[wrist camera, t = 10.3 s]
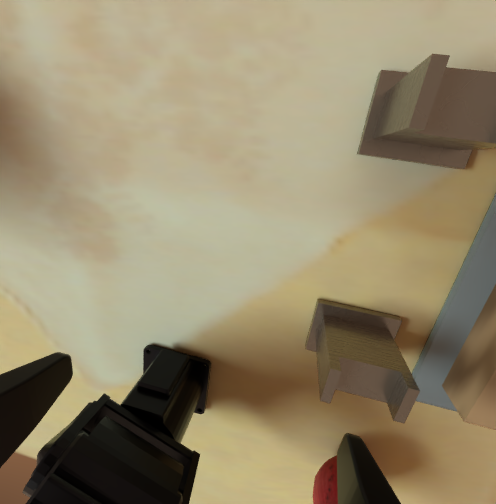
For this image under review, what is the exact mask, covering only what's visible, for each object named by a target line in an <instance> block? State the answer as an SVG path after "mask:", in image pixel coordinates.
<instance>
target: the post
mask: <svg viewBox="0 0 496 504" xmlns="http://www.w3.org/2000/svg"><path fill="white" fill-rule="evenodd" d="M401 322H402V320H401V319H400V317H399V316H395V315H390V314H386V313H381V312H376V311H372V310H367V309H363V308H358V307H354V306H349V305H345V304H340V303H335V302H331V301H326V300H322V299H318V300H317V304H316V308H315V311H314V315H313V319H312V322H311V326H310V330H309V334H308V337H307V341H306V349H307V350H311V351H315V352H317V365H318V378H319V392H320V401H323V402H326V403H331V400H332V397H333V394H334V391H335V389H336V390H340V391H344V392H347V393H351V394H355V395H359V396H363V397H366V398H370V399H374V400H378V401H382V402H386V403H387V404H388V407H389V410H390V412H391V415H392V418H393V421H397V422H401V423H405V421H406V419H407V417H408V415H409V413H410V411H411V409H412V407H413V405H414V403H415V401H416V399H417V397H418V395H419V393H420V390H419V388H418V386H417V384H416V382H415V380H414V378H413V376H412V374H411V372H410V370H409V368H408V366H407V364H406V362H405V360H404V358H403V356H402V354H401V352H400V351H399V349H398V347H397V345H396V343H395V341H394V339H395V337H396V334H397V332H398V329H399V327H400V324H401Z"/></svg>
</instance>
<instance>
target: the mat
mask: <svg viewBox="0 0 496 504" xmlns="http://www.w3.org/2000/svg"><path fill="white" fill-rule="evenodd" d="M495 284H496V194H495V196H494V199H493V201H492V203H491V205H490V207H489V209H488V211H487V214H486V216H485V218H484V220H483V222H482V224H481V227H480V229H479V231H478V233H477V235H476V237H475V239H474V242H473V244H472V246H471V248H470V250H469V252H468V254H467V257H466V259H465V261H464V263H463V265H462V267H461V269H460V272H459V274H458V276H457V278H456V280H455V282H454V284H453V287H452V289H451V291H450V293H449V295H448V297H447V299H446V302H445V304H444V306H443V308H442V310H441V312H440V314H439V317H438V319H437V321H436V323H435V325H434V327H433V329H432V332H431V334H430V336H429V338H428V340H427V342H426V344H425V347H424V349H423V351H422V353H421V355H420V357H419V360H418V362H417V364H416V366H415V368H414V370H413V372H412V376H413V378H414V380H415V382H416V384H417V386H418V388H419V390H420V393H419V395H418V397H417V399H416V401H418V402H422V403H426V404H430V405H434V406H437V407H441V408H445V409H449V410H453V411H457V410H456V408H455V406H454V405H453V403H452V402H451V400H450V398H449V397H448V395H447V394H446V392H445V390H444V389H443V387H442V384H443V382H444V380H445V378H446V377H447V375H448V373H449V371H450V369H451V367H452V365H453V363H454V362H455V360H456V358H457V356H458V354H459V352H460V350H461V348H462V346H463V345H464V343H465V341H466V339H467V337H468V335H469V333H470V331H471V330H472V328H473V326H474V324H475V322H476V320H477V318H478V316H479V314H480V313H481V311H482V309H483V307H484V305H485V303H486V301H487V299H488V298H489V296H490V294H491V292H492V290H493V288H494V286H495ZM457 412H458V411H457Z"/></svg>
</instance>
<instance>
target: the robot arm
mask: <svg viewBox="0 0 496 504" xmlns="http://www.w3.org/2000/svg"><path fill="white" fill-rule="evenodd" d="M149 350H150V351H149ZM205 365H206V366H205ZM210 368H211V363H210V362H209V361H208V360H206V359H202V358H199V357H195V356H191V355H187V354H183V353H180V352H176V351H172V350H168V349H164V348H161V347H157V346H153V345H147V346H146V347H145V348H144V366H143V375H142V377H141V378H140V379H139V381H138V382H137V383H136V385H135V386H134V387H133V389H132V390H131V391H130V393H129V394H128V395H127V397H126V398H125V399H124V401H123V402H122V403H121V405H119V404H118V403H116V402H114V401H113V400H111V399H110V397H109V396H108V395H106V394H103V395H102V396H101V398H100V399H99V400H98V401H97V402H96V401H94V402H93V403H88V405H87V406H86V407H85V408H84V409H83V410H82V411H81V413H80V414H79V415H78V416H77V417H76V418H75V419H74V420H73V421H72V422H71V423H70V424H69V425H68V426H67V427H66V428H64V429H63V430H62V431H61V432H60V433H58V434H57V435H56V436H55V437H54V438H53V439H51V440H50V441H49V442H48V443H47V444H46V445H45V446H44V447H43V448H42V449H41V450H40V451H39V453H38V455H37V467H36V468H35V470H34V471H33V473H32V475H31V476H32V477H31V478H30V480H29V482H28V483H27V485H26V486H25V488H24V490H23V493H24V494H25V495H27V496H29V497H30V499H29V500H28V502H27V503H26V504H189V501H190V497H191V492H192V488H193V483H194V479H195V475H196V470H197V466H198V461H199V457H200V454H199V453H197V452H196V451H192V450H190V449H188V448H187V447H185V446H184V445H182V444H181V441H182V438H183V436H184V434H185V431H186V429H187V427H188V425H189V422H190V420H191V418H192V415H193V413H198V414H203V413H204V411H205V409H206V402H207V393H208V385H209V376H210ZM72 375H73V370H72V362H71V357H70V355H68V354H64V353H60V352H57V353H54V354H51V355H49V356H46V357H44V358H41V359H39V360H36V361H34V362H31V363H28V364H26V365H23V366H21V367H18V368H16V369H13V370H11V371H8V372H6V373H3V374H1V375H0V468H1V466H2V465H3V464H4V463H5V462H6V461H7V460H8V458H9V457H10V456H11V455H12V454H13V453H14V452H15V450H16V449H17V448H18V447H19V446H20V445H21V444H22V442H23V441H24V440H25V439H26V438H27V437H28V435H29V434H30V433H31V432H32V431H33V430H34V428H35V427H36V426H37V425H38V423H39V422H40V421H41V419H42V418H43V417H44V415H45V414H46V413H47V411H48V410H49V409H50V407H51V406H52V405H53V403H54V402H55V401H56V399H57V398H58V397H59V395H60V394H61V393H62V391H63V390H64V389H65V387H66V386H67V384H68V383H69V382H70V380H71V378H72ZM337 487H338V504H401V503H400V501H399V500H398V498H397V496H396V495H395V493H394V491H393V490H392V488H391V486H390V485H389V483H388V481H387V480H386V478H385V476H384V475H383V473H382V471H381V470H380V468H379V467H378V465H377V463H376V462H375V460H374V458H373V457H372V455H371V453H370V452H369V450H368V448H367V447H366V445H365V443H364V442H363V440H362V439H361V438H360V437H359V436H356V435H352V434H349V433H346V434H345V435H344V437H343V440H342V442H341V445H340V447H339V450H338V454H337Z"/></svg>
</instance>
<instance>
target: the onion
mask: <svg viewBox="0 0 496 504" xmlns="http://www.w3.org/2000/svg"><path fill="white" fill-rule="evenodd" d="M313 503H314V504H338V487H337V456H334V457H333V458H331V459H329V460H328V461H326V462H325V463H324V464H323V466H322V467H321V468H320V469H319V471H318V473H317V474H316V476H315V482H314V489H313Z"/></svg>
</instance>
